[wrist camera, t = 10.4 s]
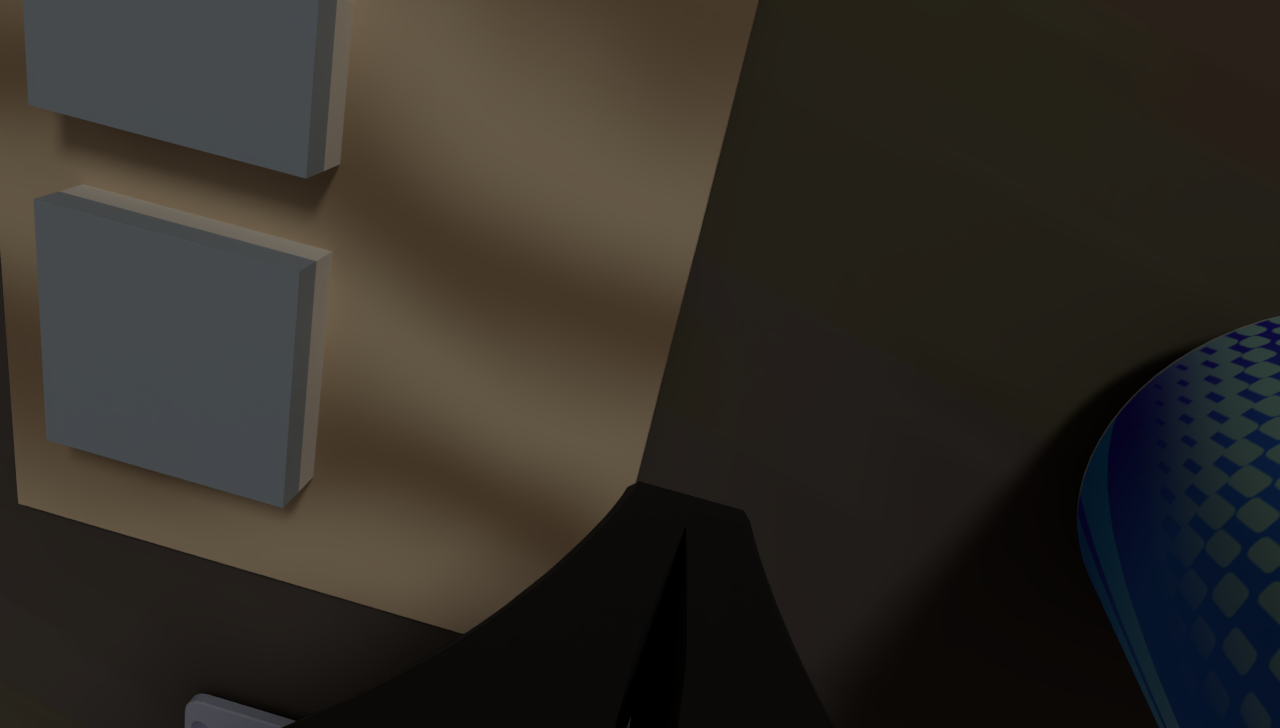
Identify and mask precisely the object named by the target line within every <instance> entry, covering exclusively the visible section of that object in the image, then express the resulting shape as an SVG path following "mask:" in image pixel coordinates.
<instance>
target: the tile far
mask: <svg viewBox="0 0 1280 728" xmlns="http://www.w3.org/2000/svg"><path fill="white" fill-rule="evenodd" d="M33 201H34V219H35V238H36V256H37V275H38V293H39V312H40V330H41V349H42V368H43V386H44V405H45V423H46V440H48V441H52V442H55V443H59V444H62V445H66V446H69V447H73V448H76V449H79V450H83V451H86V452H90V453H93V454H97V455H100V456H104V457H107V458H111V459H114V460H118V461H121V462H125V463H128V464H132V465H135V466H138V467H142V468H145V469H149V470H152V471H156V472H159V473H163V474H166V475H170V476H173V477H177V478H180V479H184V480H187V481H190V482H194V483H197V484H201V485H204V486H208V487H211V488H215V489H218V490H222V491H225V492H229V493H232V494H236V495H239V496H242V497H246V498H249V499H253V500H256V501H260V502H263V503H267V504H270V505H274V506H277V507H281V508H284V507H285V505H286V504H287V503H288V502H289V501H290V500H291V499H292V498H293V497H294V496H295V495H296V494H297V493H298V492H299V491H300V490H301V489H302V488H303V487H304V486H305V485H306V484H307V483H308V482H309V481H310V480H311V479H312V478H313V476H314V464H315V452H316V440H317V429H318V417H319V405H320V394H321V382H322V370H323V358H324V347H325V335H326V323H327V311H328V300H329V288H330V276H331V265H332V253H333V252H332V251H329V250H325V249H321V248H318V247H314V246H310V245H306V244H303V243H299V242H295V241H292V240H288V239H284V238H280V237H277V236H273V235H269V234H266V233H262V232H258V231H255V230H251V229H247V228H243V227H240V226H236V225H232V224H229V223H225V222H221V221H217V220H214V219H210V218H206V217H203V216H199V215H195V214H192V213H188V212H184V211H180V210H177V209H173V208H169V207H166V206H162V205H158V204H154V203H151V202H147V201H143V200H140V199H136V198H132V197H129V196H125V195H121V194H117V193H114V192H110V191H106V190H103V189H99V188H95V187H91V186H88V185H84V184H82V185H79V186H75V187H72V188H69V189H65V190H62V191H59V192H55V193H52V194H49V195H45V196H42V197H39V198H35V199H33Z"/></svg>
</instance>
